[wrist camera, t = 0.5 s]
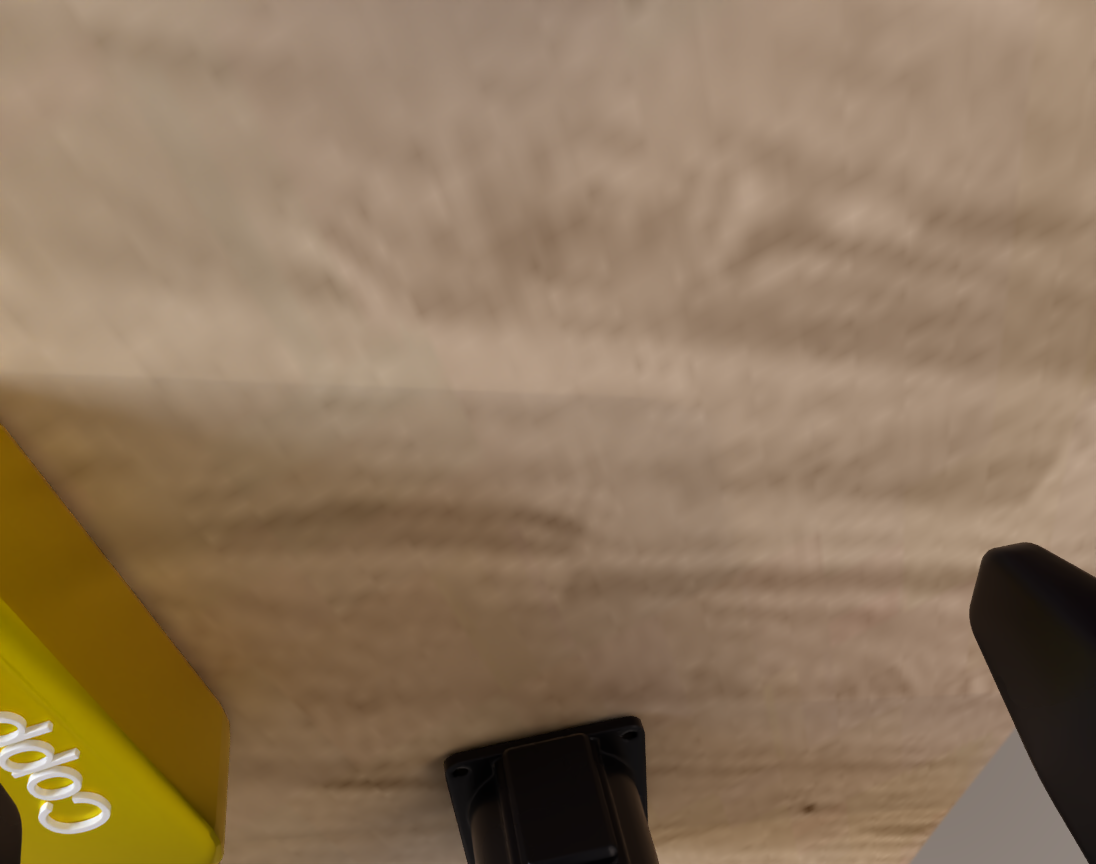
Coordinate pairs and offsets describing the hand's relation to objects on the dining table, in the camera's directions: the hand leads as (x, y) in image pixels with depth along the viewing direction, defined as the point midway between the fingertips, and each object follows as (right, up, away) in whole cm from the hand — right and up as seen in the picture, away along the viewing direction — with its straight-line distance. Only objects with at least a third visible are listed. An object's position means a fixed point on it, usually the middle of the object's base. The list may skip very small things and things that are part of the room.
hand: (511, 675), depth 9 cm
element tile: (-17, -4, +17) cm, 24 cm away
